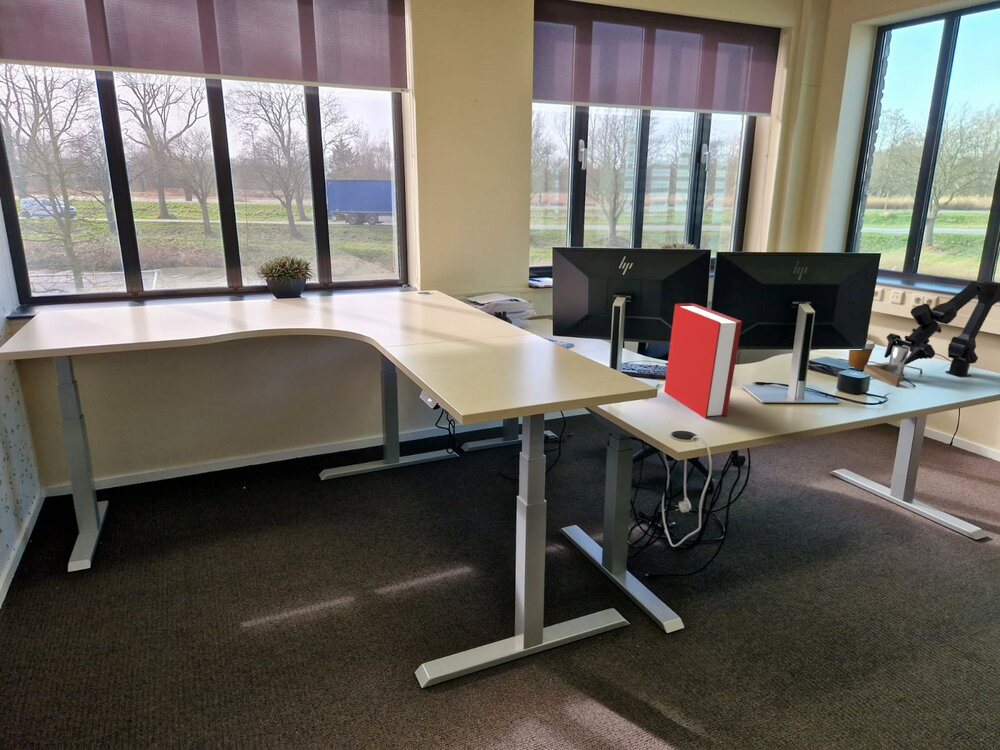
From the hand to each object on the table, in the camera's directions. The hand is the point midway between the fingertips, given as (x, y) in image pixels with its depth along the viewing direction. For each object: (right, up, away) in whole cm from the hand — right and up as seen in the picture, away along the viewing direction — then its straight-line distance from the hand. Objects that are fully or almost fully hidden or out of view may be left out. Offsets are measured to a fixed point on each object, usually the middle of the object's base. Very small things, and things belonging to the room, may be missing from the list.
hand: (894, 360), depth 249 cm
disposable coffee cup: (-7, -3, +14) cm, 16 cm away
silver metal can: (+1, -7, +3) cm, 8 cm away
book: (-91, -16, -33) cm, 98 cm away
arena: (+1, -7, +2) cm, 8 cm away
